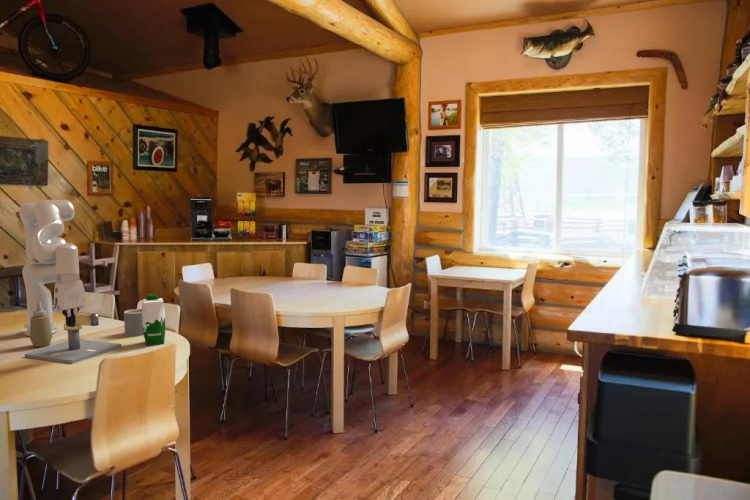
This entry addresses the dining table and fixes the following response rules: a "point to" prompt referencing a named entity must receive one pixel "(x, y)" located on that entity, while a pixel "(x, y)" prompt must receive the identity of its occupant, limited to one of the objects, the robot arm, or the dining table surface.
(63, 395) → the dining table surface
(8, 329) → the dining table surface
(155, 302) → the milk carton
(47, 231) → the robot arm
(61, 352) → the post base
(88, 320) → the tan piece
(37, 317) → the squeeze bottle
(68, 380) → the dining table surface
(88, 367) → the dining table surface
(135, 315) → the coffee mug
